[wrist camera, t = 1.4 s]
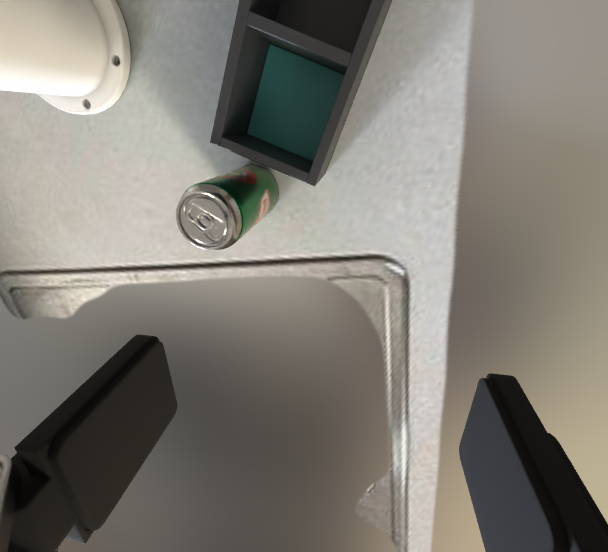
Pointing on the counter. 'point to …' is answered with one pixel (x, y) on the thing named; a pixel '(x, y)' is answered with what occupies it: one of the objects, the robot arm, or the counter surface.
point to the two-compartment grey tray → (294, 80)
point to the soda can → (226, 207)
